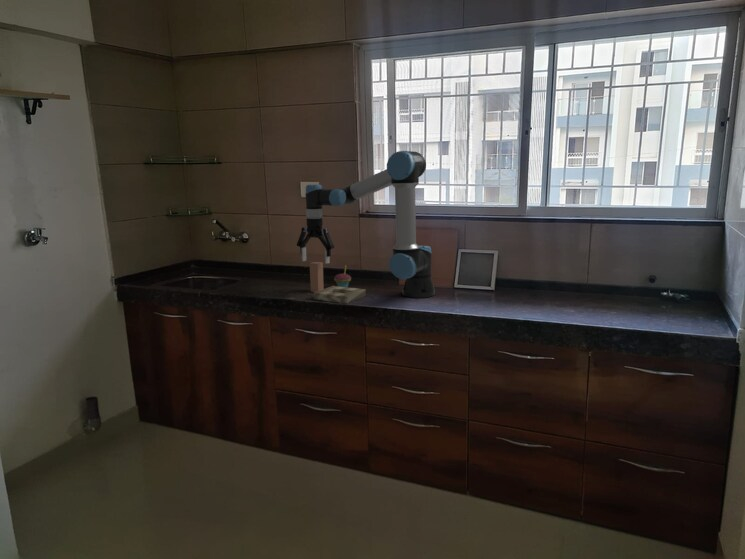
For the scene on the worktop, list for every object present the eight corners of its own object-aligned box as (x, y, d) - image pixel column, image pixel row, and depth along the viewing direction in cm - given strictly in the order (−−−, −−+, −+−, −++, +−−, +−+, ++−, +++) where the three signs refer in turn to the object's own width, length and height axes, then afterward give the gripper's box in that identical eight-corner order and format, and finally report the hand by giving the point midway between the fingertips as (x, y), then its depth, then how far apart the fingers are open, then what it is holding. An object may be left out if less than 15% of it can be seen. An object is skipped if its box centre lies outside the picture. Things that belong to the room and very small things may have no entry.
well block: (365, 295, 243) (365, 289, 242) (347, 303, 229) (347, 296, 229) (333, 291, 252) (333, 285, 251) (313, 299, 238) (313, 292, 237)
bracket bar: (323, 290, 255) (322, 262, 252) (318, 292, 251) (317, 263, 248) (316, 289, 257) (315, 261, 254) (310, 291, 253) (309, 263, 250)
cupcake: (352, 285, 264) (351, 262, 262) (350, 289, 256) (349, 265, 254) (335, 285, 265) (334, 262, 263) (332, 289, 257) (332, 265, 254)
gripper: (340, 218, 244) (341, 262, 248) (298, 216, 256) (299, 258, 260) (332, 219, 237) (333, 265, 242) (288, 217, 249) (290, 261, 254)
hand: (315, 262), depth 251 cm, fingers open, 13 cm apart
